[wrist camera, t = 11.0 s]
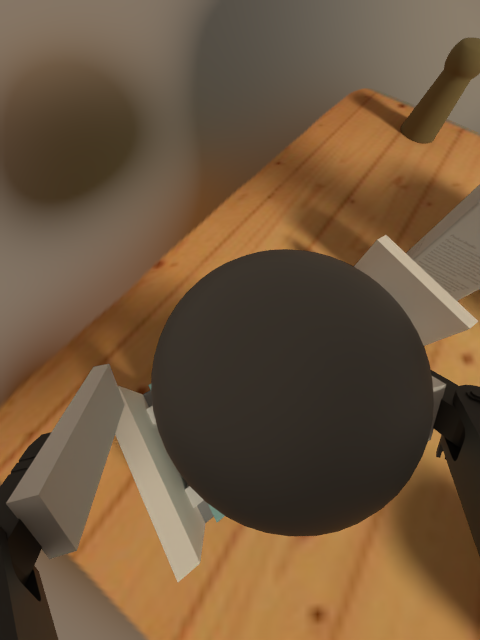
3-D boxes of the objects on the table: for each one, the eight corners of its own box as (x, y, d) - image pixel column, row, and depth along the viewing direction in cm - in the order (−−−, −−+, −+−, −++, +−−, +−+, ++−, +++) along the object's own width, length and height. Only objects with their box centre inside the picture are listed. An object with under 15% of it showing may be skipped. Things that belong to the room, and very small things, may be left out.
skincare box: (435, 292, 28) (574, 210, 17) (424, 318, 26) (569, 245, 16) (388, 266, 29) (491, 171, 18) (375, 289, 28) (479, 201, 17)
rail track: (347, 277, 28) (385, 234, 21) (411, 347, 25) (478, 321, 19) (136, 404, 20) (99, 396, 14) (192, 524, 18) (177, 582, 11)
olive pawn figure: (413, 119, 44) (472, 28, 33) (440, 137, 42) (510, 47, 32) (393, 128, 42) (449, 35, 32) (421, 147, 40) (489, 55, 30)
